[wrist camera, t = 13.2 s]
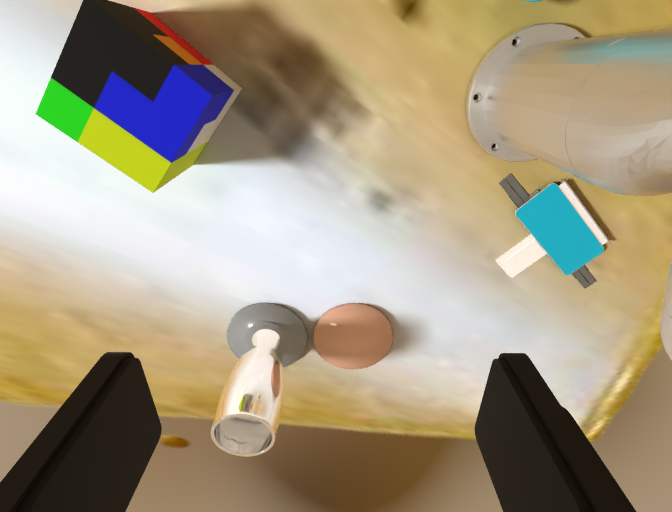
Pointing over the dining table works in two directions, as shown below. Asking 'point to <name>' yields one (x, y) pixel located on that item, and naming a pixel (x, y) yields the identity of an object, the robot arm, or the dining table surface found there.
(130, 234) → the dining table surface
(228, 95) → the puzzle toy
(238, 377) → the beer glass
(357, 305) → the terracotta coaster
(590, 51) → the robot arm
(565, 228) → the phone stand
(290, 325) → the slate coaster
